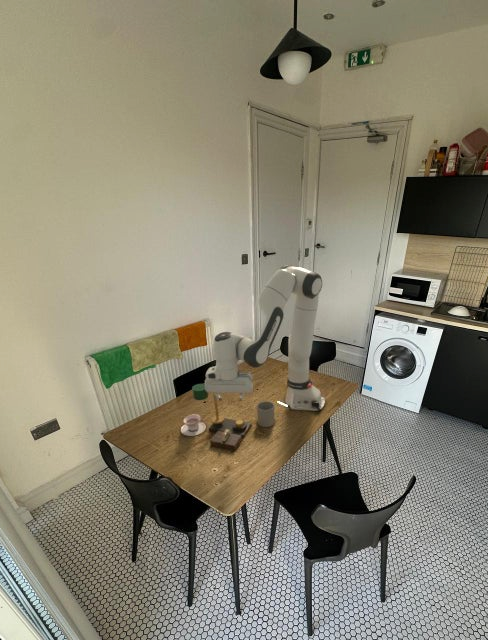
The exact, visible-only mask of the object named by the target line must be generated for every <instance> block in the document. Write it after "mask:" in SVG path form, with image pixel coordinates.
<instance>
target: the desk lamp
mask: <svg viewBox="0 0 488 640" xmlns="http://www.w3.org/2000/svg"><path fill="white" fill-rule="evenodd" d="M191 390H192V396H193V399H194V400H196V401H204V400H206V399H208V398H209V392H207V391H206V390H205V383H197V384H194V385H193V386H192V387H191ZM212 394H213V402H214V410H215V416H213V417H212V418H211V423H212V424H213V423H214V424H220V423H222V422H223V421H224V418H225V417H224V416H222V415H219V407H218V406H219V405H218V398H217V397H216V396H215V394H214V392H212Z"/></svg>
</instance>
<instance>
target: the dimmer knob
mask: <svg viewBox="0 0 488 640" xmlns="http://www.w3.org/2000/svg"><path fill="white" fill-rule="evenodd" d="M229 435H230V432H229V430H227V429H226V430H225V432H224V433H223V434H222V441H226V440H227V438H228V437H229Z"/></svg>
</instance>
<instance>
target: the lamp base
mask: <svg viewBox="0 0 488 640" xmlns="http://www.w3.org/2000/svg"><path fill="white" fill-rule="evenodd" d="M236 421H237V420H236V419H231V418H226V417H224V421H223V422H222V423H220V424H214V423H212V424H211V425H210V426H209V427H208V431H209V432H213V433H217V431H222V432H225V430H226V429H227V430H229V432H230V433H232V434H237V435H242V439H243V438H245V436H246V435H247V433H248V432H249V430H250V429H251V428H252V422H247V421H244V420H242V421H243V426H242V427H237V426H236Z"/></svg>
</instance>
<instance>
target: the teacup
mask: <svg viewBox="0 0 488 640" xmlns="http://www.w3.org/2000/svg"><path fill="white" fill-rule="evenodd" d="M183 423H184V424H183V425H182V426H181V428H180V433H181V435H183V436H185V437H196V436H199V435H202V434H203V433H204V432H205V431H206V429H207V426H206V424H205V423H204V422H202V421H201V416H200V414H197V413H193V414H192V413H191V414H188V415H187V416H185V417H184V418H183Z"/></svg>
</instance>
